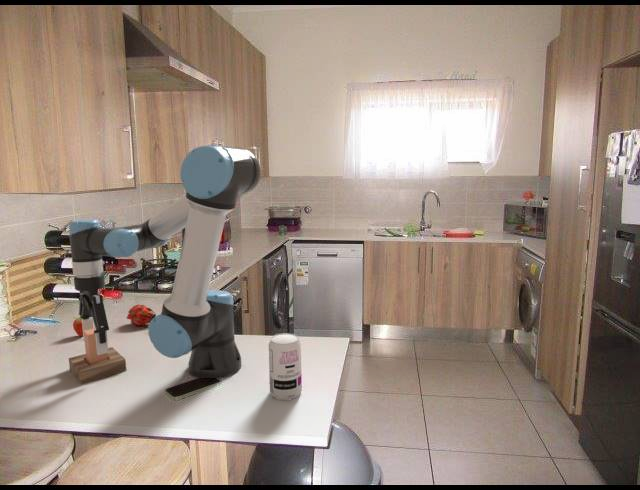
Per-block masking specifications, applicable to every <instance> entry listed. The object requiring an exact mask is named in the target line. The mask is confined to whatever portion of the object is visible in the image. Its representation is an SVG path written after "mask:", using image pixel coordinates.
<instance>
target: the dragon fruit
mask: <svg viewBox="0 0 640 490" xmlns="http://www.w3.org/2000/svg"><path fill="white" fill-rule="evenodd" d="M156 316H157V313H155V311H153V309H152V308H151V307H147V306H146V305H145V304H136V305H133V306H132V307H131V308H130V309H129V310H128V313H127V316H126V319H127V320H129V321H130V323H131V325H132V326H136V325H138V326H140V327H142V328H145V327H146V328H147V327H149V324H150V322H151V320H152V319H153V318H154V317H156ZM147 324H148V325H147Z"/></svg>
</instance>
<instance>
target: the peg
mask: <svg viewBox="0 0 640 490" xmlns="http://www.w3.org/2000/svg"><path fill="white" fill-rule="evenodd" d="M94 330H96V328H95V327H93V329H89V330H85V331H84V337H83V341H84V340H85V341H84V348H85V349H84V350H85V354H86V360H87V363H88V364H89V365H90V364H94V363H97V362H101V361H105V360H108V357H107V353H105V354H101V355H97V347H96V336H95V334H94Z"/></svg>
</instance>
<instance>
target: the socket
mask: <svg viewBox="0 0 640 490" xmlns="http://www.w3.org/2000/svg"><path fill="white" fill-rule="evenodd" d="M107 357H108V360H105V361H101V362H97V363H94V364H90V365H89V364H88V363H87V360H86V353H84V354H80V355H75V356H73V357H69V358H68V366H69V370H70V371H71V373H72V375H73V376H74V377H75V378H76V380H77V381H78V382H79V384H80V385H83V384H86V383H88V382H92V381H95V380H98V379H102V378H105V377H109V376H113V375H116V374H119V373H122V372H123V373H124V372H126V371H127V362H126V358H125V357H123V356H122V355H121V353H119V352H118V351H117V350H116V349H115V348H114V347H111V346H110V347H108V353H107Z"/></svg>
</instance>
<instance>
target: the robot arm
mask: <svg viewBox="0 0 640 490" xmlns="http://www.w3.org/2000/svg"><path fill="white" fill-rule="evenodd" d="M179 174H180V175H179V176H180V181H181V182H182V183H183V184H182V187H183V189H184V190H185V191H186V193H185V194H183V196H181V197H180V198H177V200H175V201H174V202H172V203H171V204H169V205H168V206H166V207H165V208H163V209H161V210H160V211H159V212H158V213H156V214H155V215H153V216H152V217H150V218H149V219H147V220H146V221H144V222H142V223H139V224H134V225H128V226H121V227H120V226H119V227H111V228H107V227H106V228H103V227H101V225H100V221H98V219H89V218H88V219H75V220H72V221H70V222H69V223H68V233H69V234H68V238H69V244H70V245H69V246H70V252H71V254H70V255H71V265H72V266H71V268H72V275H74V277H73V282H74V289H75V291H78V292H79V304H78V305H79V308H78V315H79V316H80V315H81V319H83V320H82V327H83V336H82V337H83V338H84V331H85V330H89V329H94V328H96V330H94V334H95V336H96V347H97V355H101V354H105V353H108V348H109V344H108V332H107V331H109V330H110V327H109V324H108V323H109V322H108V319H107V313H106V309H105V304H104V298H103V297H104V296H103V295H102V294H99V290H100V289H103V288H105V285H106V283H105V275H104V274H103V272H104V265H105V261H104V260H103V257H110V258H111V257H112V258H117V259H119V258H120V259H121V258H128V257H132V256H133V255H134V254H135V253H137V252H141V251H145V250H150V249H156V248H159V247H161V246H164V245H165V244H167V242H168V240H169V238H170V237H172V236H174V235H175V234H177V233H179V232H180V231H182V230H183V229H185V231H184V235H183V241H182V243H181V249H180V254H179V257H178V264H177V268H176V273H175V277H174V281H173V286H172V287H173V288H172V291H171V294H169V295H167V296H166V297H165V298H164V300H163V303H162V307H161V313H160V314H156V317H154V318H153V319H152V320H151V322H150V323H148V328H147V329H148V330H147V331H148V337H149V340H150V342H151V343H152V345H153V347H154V348H155V350H156V351H157V352H158V353H159V354H161V355H162V356H164V357H167V358H168V359H169V358H170V359H176V358H181V357H182V356H185V355H188V354H189V353H190V356H189V360H188V363H187V364H188V365H187V366H188V373H189V375H191V376H193V377H195V378H198V379H201V378H217V379H221V378H226V377H229V376H232V375H234V374H236V373H237V372H238V371H239V370H240V369H241V368H242V364H243V363H242V357H241V354H240V351H239V349H238V346H237V344H236V341H235V320H234V315H235V314H234V306H235V304H234V300H233V299H234V297H233V295H232V293H230V291H227V290H226V291H225V290H217V289H210V285H211V282H212V276H213V273H214V269H215V263H216V260H217V256H218V253H219V252H218V251H219V248H220V243H221V239H222V234H223V230H224V227H225V224H226V223H225V222H226V220H227V219H226V218H227V215H228V214H229V213H231V212H232V211H234V210H235V209H236V204H237V201H238V199H240V198H242V197H244V196H245V195H247V194H249V193H250V192H252V191H253V190H255V189H256V187H257V186H258V184H259V182H260V180H261V176H262V170H261V165H260V162H259V160H258V158H257V157H256V156H255V155H254V154H253V152H252V151H249V150H248V149H246V148H242V147H236V146H235V147H232V146H224V145H217V144H208V145H200V146H198V147H196V148H193V149H191V151H189V152H188V153H187V154H186V156H185V157H184V159H183V160H182V163H181V166H180V172H179ZM83 342H85V340H84V339H83Z"/></svg>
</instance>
